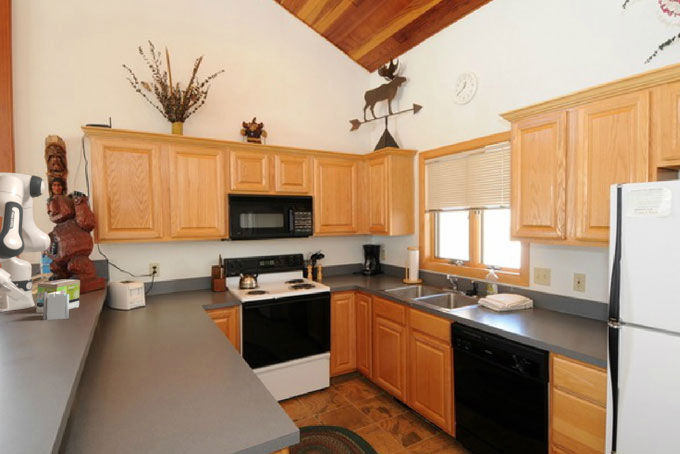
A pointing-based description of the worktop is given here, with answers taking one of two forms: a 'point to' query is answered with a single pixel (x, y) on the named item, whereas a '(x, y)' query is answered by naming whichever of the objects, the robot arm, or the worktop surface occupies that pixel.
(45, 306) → the white fence panel
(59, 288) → the tea box
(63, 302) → the blue-grey fence panel
